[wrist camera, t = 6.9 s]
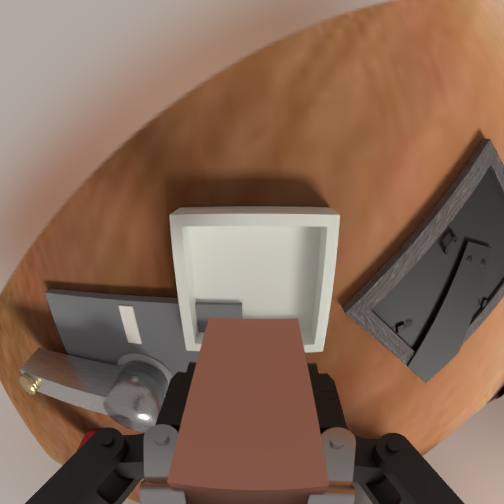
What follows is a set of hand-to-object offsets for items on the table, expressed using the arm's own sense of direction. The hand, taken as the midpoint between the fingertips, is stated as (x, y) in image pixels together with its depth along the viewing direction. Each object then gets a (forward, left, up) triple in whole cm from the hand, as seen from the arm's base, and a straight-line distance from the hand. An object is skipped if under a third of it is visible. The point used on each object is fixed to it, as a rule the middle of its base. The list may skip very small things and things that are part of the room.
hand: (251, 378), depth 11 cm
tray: (0, 0, -11) cm, 11 cm away
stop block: (0, 0, -2) cm, 2 cm away
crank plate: (+11, +10, -11) cm, 18 cm away
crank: (+17, +11, -10) cm, 23 cm away
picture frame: (-20, 0, -12) cm, 23 cm away
